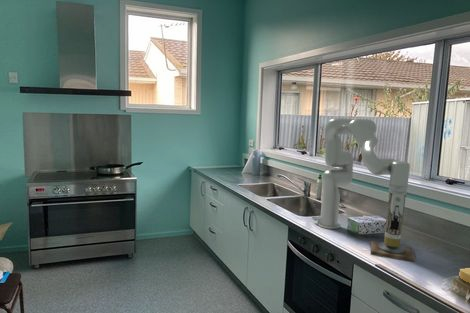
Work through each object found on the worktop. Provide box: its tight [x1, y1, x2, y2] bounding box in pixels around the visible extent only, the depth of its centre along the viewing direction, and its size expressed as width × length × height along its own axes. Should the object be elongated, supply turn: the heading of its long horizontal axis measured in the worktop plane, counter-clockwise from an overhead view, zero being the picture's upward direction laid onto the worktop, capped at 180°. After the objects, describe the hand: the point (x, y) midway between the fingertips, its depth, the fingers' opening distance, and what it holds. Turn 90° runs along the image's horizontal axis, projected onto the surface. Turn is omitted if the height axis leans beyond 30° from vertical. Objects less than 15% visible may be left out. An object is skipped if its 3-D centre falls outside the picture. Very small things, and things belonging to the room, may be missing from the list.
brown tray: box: [370, 240, 416, 263], centre depth 166 cm, size 18×15×2 cm
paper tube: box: [383, 191, 407, 247], centre depth 165 cm, size 7×7×25 cm
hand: (393, 226), depth 165 cm, fingers closed on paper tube, 6 cm apart
